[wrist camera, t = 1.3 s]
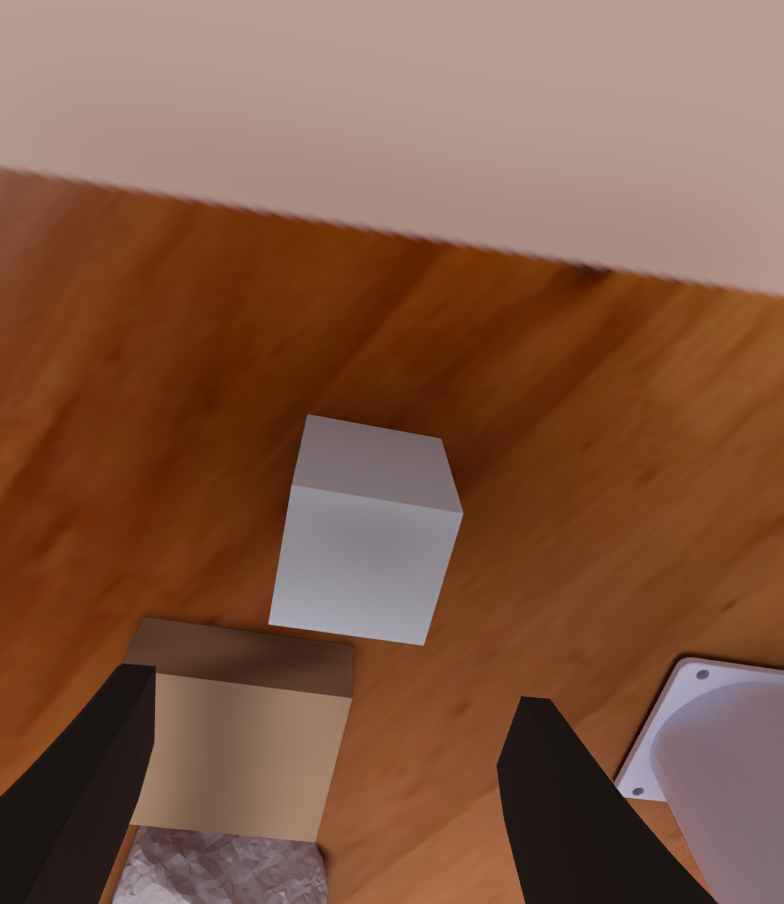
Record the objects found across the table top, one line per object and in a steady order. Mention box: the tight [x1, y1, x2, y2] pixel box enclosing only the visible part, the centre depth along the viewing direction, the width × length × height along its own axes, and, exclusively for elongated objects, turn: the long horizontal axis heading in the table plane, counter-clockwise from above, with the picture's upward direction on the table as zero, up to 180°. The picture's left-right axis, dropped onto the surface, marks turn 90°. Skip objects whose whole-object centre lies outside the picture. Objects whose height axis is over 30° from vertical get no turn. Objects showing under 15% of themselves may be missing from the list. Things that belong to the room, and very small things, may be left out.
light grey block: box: [269, 414, 463, 646], centre depth 19 cm, size 4×4×5 cm
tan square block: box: [120, 617, 353, 842], centre depth 24 cm, size 8×8×3 cm
